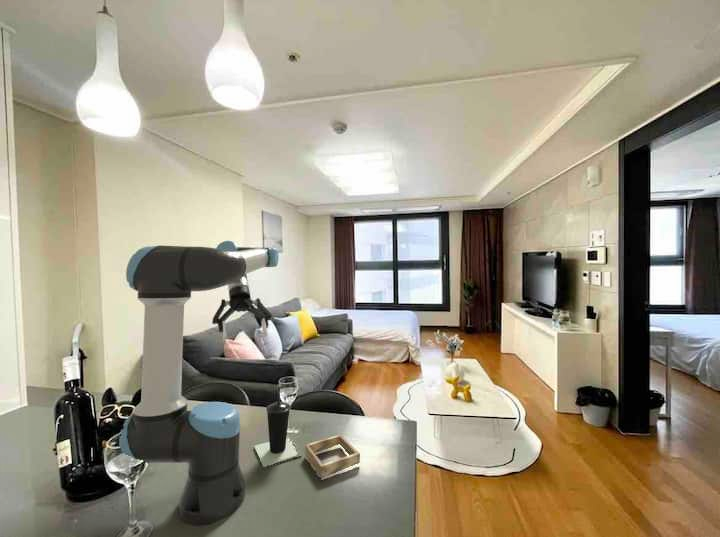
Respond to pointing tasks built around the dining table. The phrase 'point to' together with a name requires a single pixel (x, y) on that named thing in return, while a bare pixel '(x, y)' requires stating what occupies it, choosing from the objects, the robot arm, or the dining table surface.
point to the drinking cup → (278, 425)
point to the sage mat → (269, 457)
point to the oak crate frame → (337, 464)
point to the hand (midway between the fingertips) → (246, 337)
